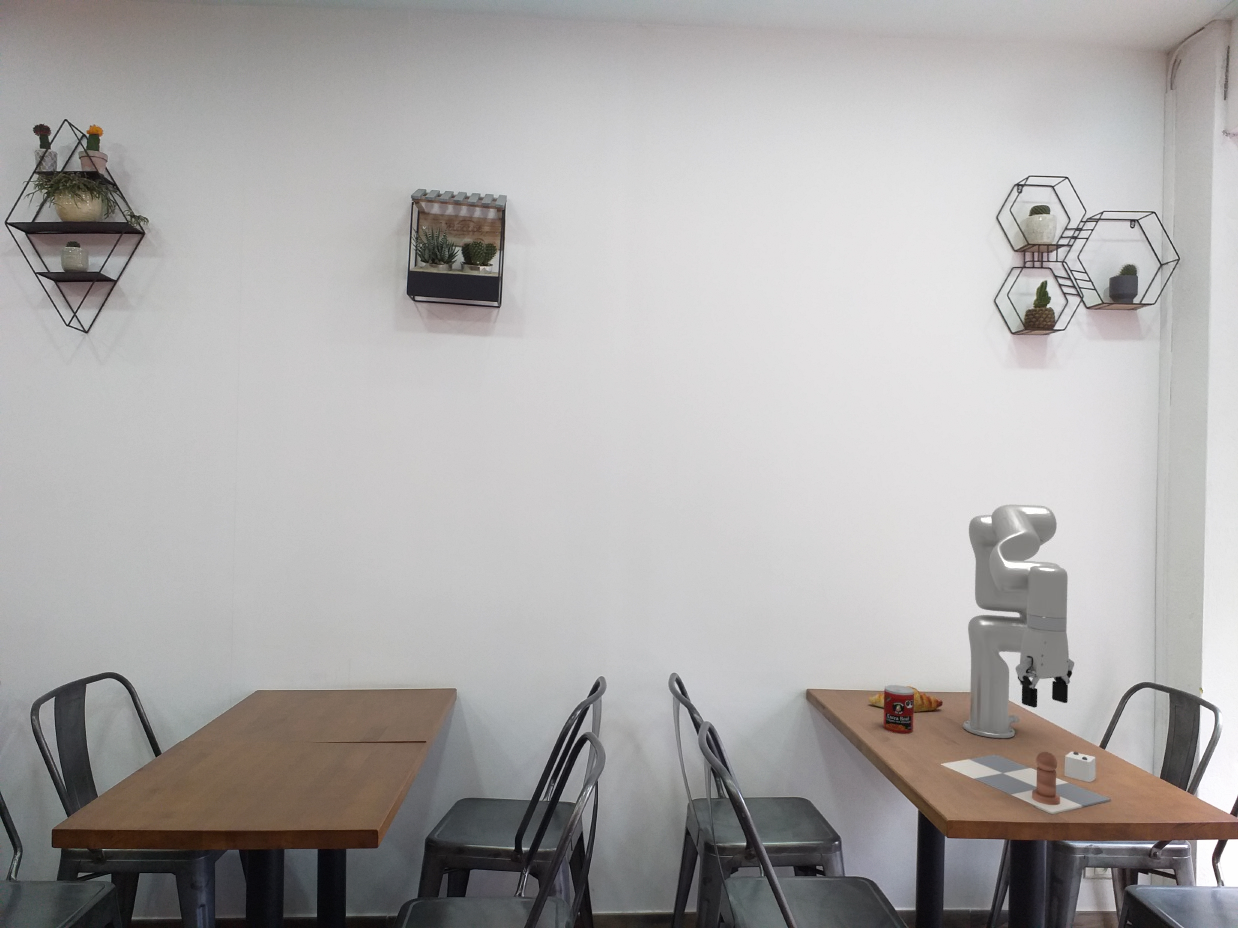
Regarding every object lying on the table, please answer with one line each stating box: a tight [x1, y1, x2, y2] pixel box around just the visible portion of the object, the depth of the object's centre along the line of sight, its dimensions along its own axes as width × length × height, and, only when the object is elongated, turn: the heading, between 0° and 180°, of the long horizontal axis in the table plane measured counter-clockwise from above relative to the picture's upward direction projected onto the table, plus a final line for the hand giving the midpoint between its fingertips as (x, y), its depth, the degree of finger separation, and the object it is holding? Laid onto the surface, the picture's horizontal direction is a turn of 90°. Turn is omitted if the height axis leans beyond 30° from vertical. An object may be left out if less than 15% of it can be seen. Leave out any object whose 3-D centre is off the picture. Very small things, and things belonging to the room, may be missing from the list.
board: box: [939, 754, 1112, 815], centre depth 174 cm, size 19×28×1 cm, turn 25°
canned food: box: [883, 684, 915, 734], centre depth 210 cm, size 8×8×11 cm
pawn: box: [1032, 751, 1060, 805], centre depth 164 cm, size 5×5×10 cm
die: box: [1064, 751, 1096, 783], centre depth 178 cm, size 5×5×6 cm
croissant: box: [868, 685, 944, 713], centre depth 231 cm, size 21×10×8 cm, turn 83°
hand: (1044, 703), depth 165 cm, fingers open, 9 cm apart
